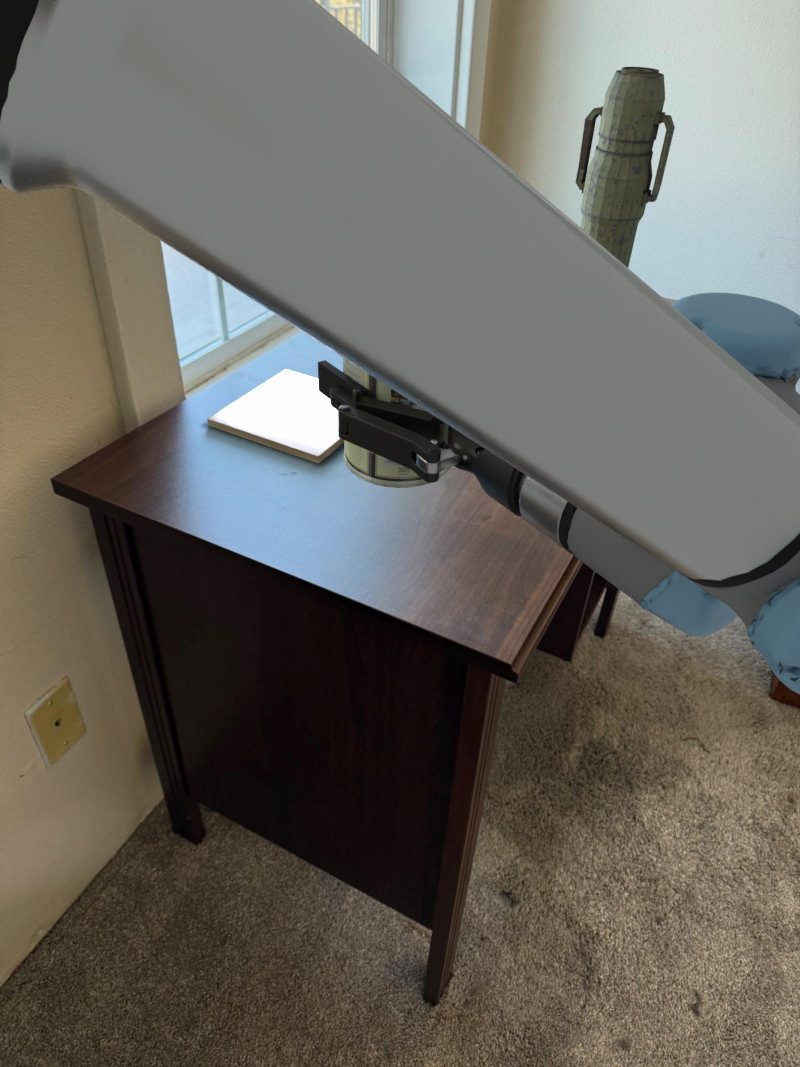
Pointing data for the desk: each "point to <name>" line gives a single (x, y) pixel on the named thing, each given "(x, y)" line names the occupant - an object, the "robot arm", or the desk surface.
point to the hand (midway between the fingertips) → (372, 360)
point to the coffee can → (370, 463)
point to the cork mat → (284, 417)
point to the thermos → (623, 158)
